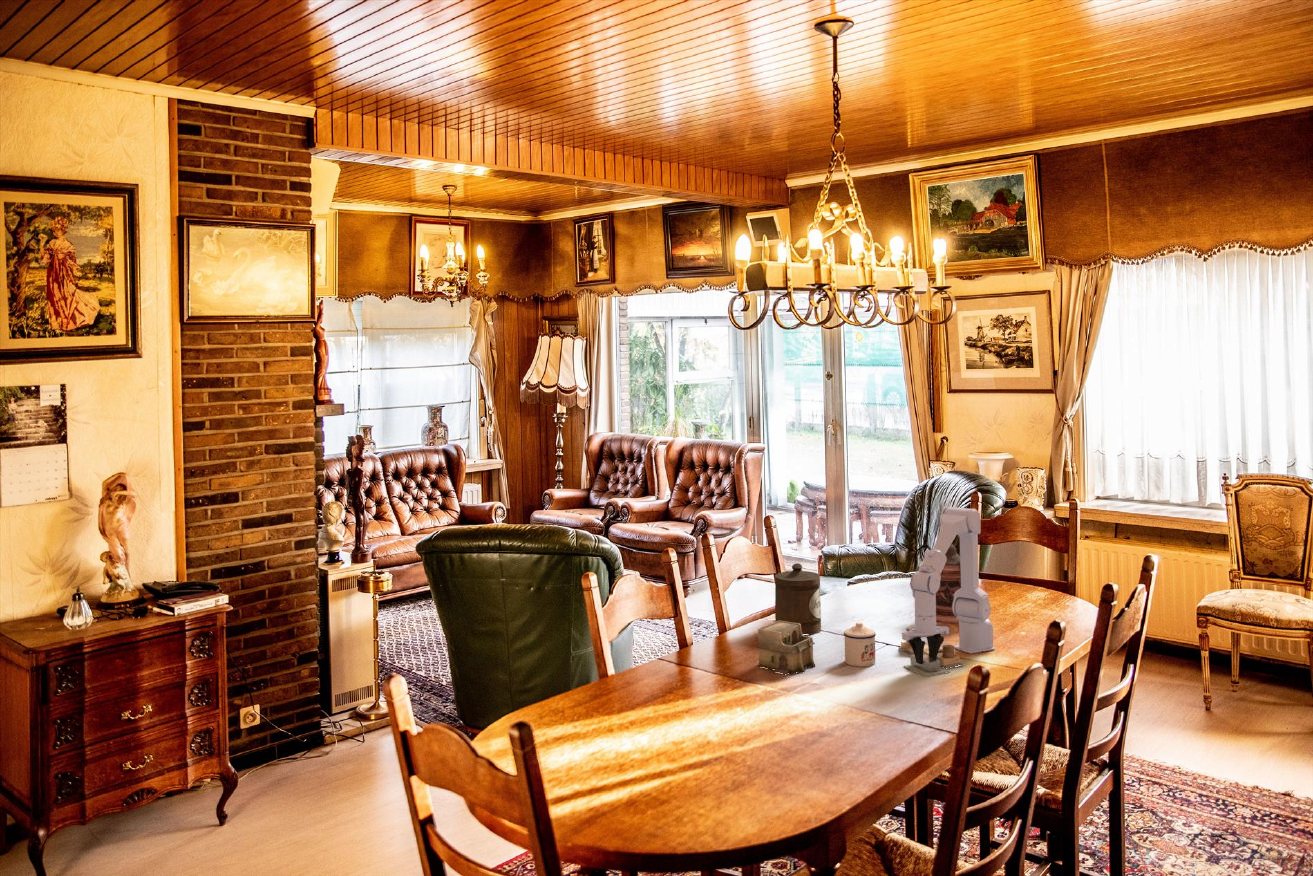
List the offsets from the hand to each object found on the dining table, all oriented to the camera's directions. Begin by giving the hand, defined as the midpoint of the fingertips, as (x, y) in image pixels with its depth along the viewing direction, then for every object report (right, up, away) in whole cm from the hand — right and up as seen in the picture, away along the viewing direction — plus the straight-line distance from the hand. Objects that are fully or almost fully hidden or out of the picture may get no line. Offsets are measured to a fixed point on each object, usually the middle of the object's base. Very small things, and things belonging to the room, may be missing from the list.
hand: (926, 662), depth 277 cm
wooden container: (-29, 0, +47) cm, 55 cm away
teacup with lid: (-16, -2, +10) cm, 19 cm away
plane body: (+4, -1, +11) cm, 12 cm away
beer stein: (+23, +2, +53) cm, 58 cm away
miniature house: (-39, -3, +8) cm, 40 cm away
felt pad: (0, -2, 0) cm, 2 cm away
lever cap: (0, -2, 0) cm, 2 cm away
